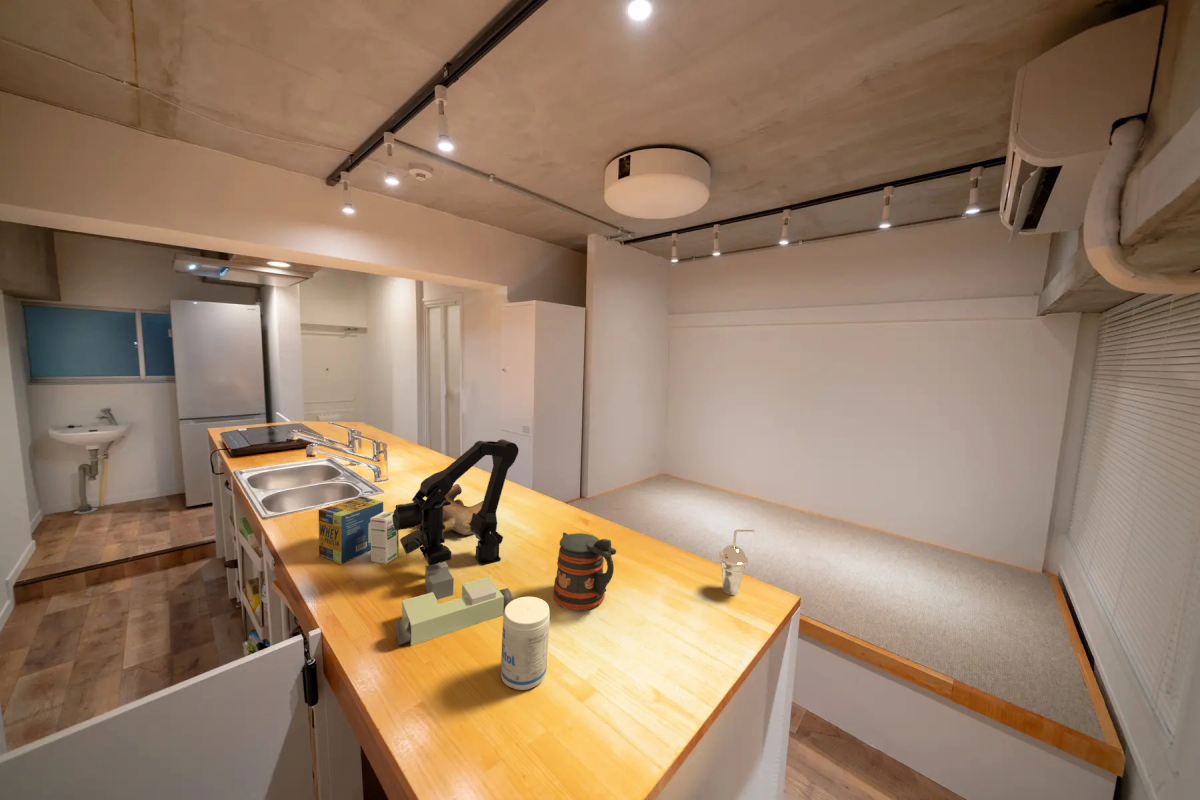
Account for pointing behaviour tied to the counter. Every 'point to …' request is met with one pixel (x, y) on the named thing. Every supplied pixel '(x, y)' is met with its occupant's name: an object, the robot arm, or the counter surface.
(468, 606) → the green roller block
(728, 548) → the cup with straw
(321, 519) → the protein box
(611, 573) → the beer stein
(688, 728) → the counter surface
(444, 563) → the grey stepped block
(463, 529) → the tan knobby branched lump
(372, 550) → the syrup box
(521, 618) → the supplement tub
